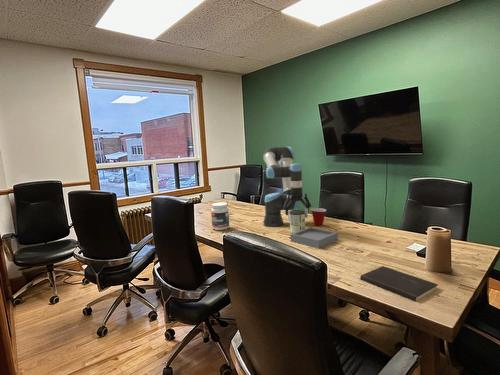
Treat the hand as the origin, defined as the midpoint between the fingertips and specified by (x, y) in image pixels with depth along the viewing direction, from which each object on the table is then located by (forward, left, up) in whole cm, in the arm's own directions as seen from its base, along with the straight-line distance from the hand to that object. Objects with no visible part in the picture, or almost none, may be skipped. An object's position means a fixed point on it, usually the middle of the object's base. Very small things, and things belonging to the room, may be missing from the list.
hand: (297, 218), depth 195 cm
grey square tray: (+19, -8, -9) cm, 22 cm away
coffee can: (0, 0, -10) cm, 10 cm away
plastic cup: (+1, +23, -10) cm, 25 cm away
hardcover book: (+77, -33, -10) cm, 84 cm away
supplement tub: (-50, -27, -10) cm, 58 cm away
